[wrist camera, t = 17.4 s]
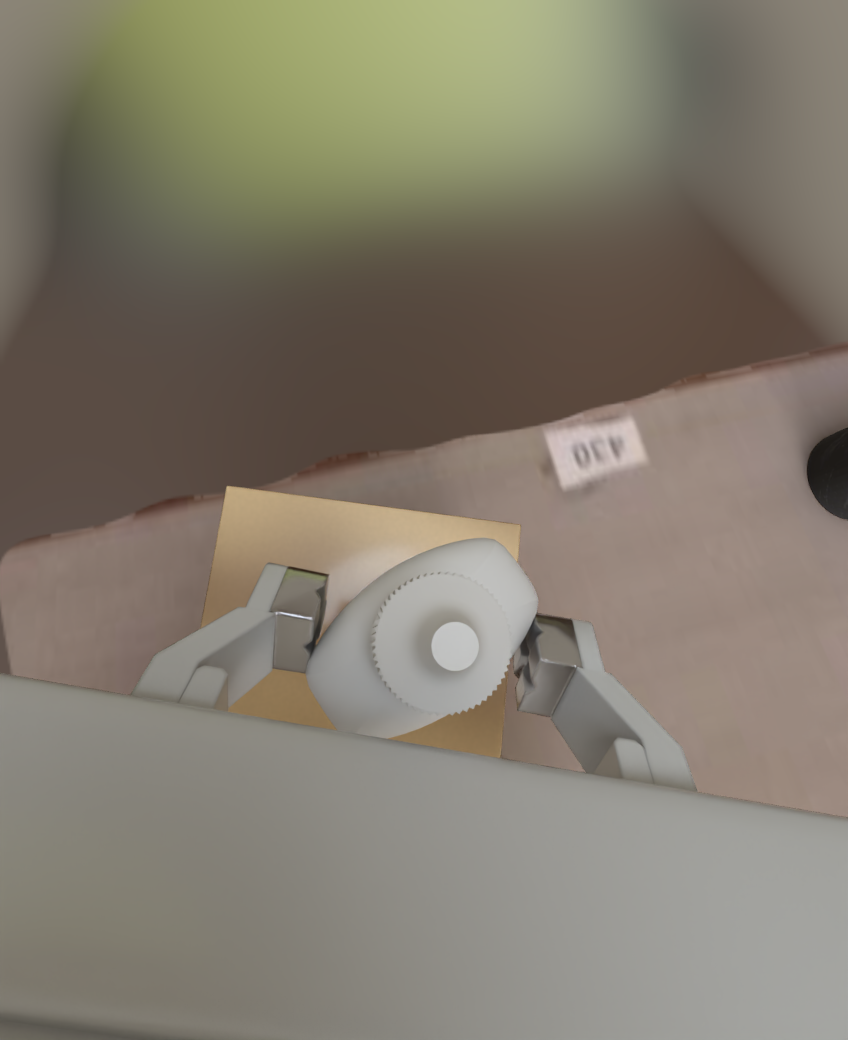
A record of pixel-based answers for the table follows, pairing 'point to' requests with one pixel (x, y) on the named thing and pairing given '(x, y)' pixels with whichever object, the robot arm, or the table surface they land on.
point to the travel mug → (831, 473)
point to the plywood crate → (340, 589)
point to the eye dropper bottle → (423, 640)
